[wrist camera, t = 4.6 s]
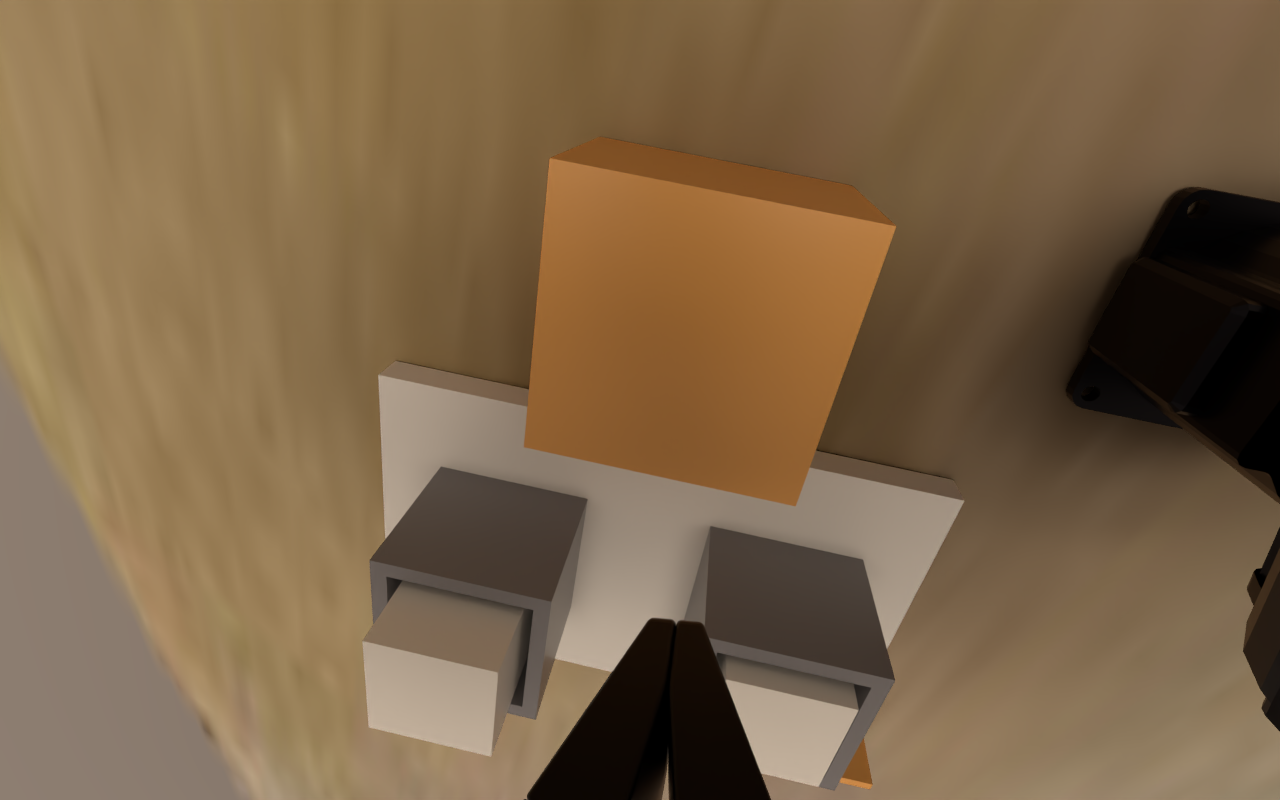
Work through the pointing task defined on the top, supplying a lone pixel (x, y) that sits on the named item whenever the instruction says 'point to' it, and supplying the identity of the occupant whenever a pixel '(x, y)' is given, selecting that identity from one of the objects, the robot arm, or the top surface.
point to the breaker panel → (650, 547)
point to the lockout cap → (696, 314)
